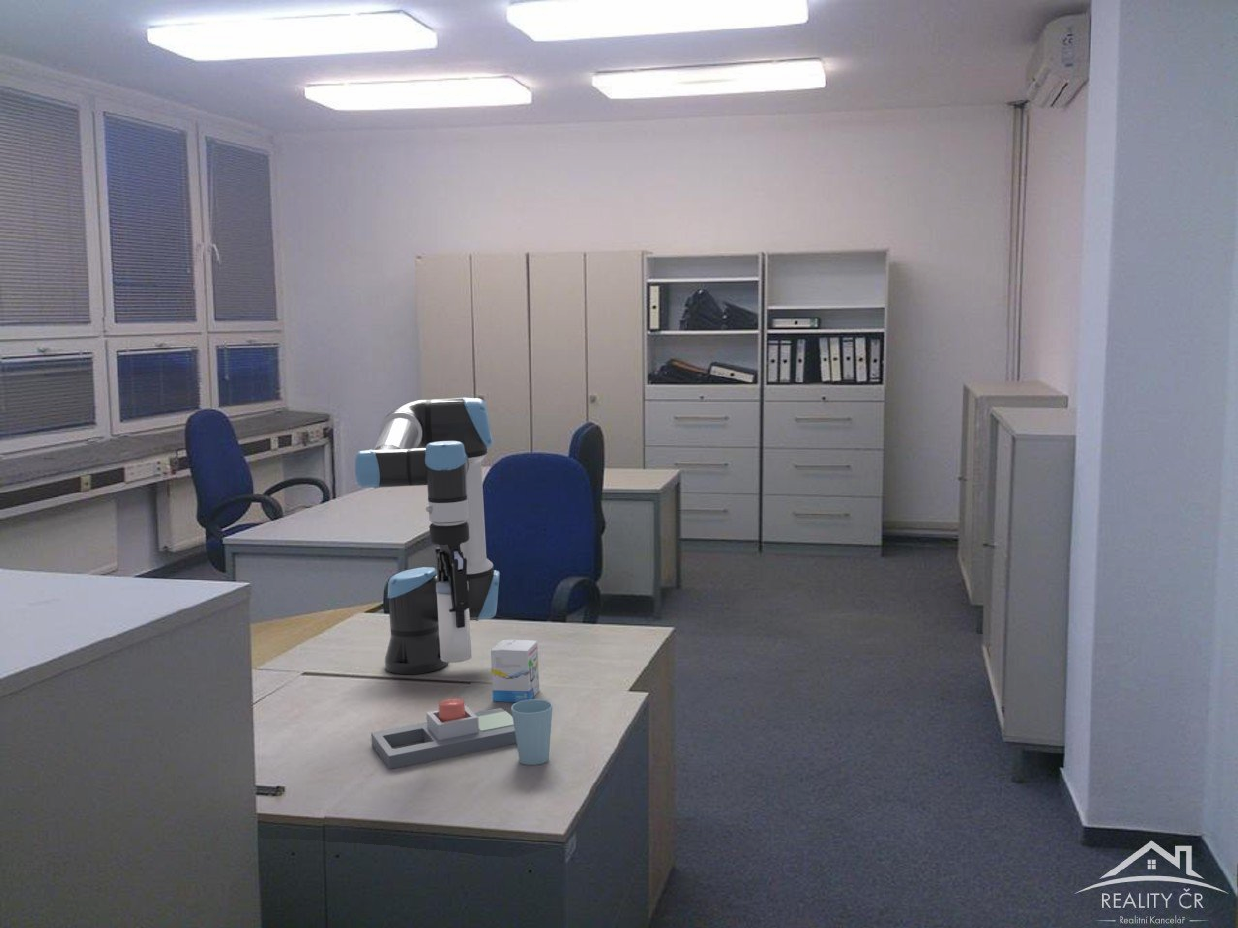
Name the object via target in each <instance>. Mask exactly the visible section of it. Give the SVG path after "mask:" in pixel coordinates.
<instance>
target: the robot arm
mask: <svg viewBox="0 0 1238 928" xmlns="http://www.w3.org/2000/svg"><path fill="white" fill-rule="evenodd" d="M492 433H493V432H492V427H491V421H490V417H489V412H488V408H487V404H486V402H485V401H484V400H483V399H482V398H479V397H478V398H477V397H455V398H454V397H452V398H437V399H436V398H435V399H434V398H433V399H419V400H413V401H410V402H408V403H404V404H402V405H400V406H398V407H396V408H394V410H392V411H390V412H389V413H388V414H387V415H386V416H385V417H384V418H383V420H382V421H381V424H380V426H379V438H378V440H377V442H376V444H375V446H374V448H373V449H370V448H369V449H367V450H360V451H358V452H357V453H356V454H355V459H354V474H355V475H354V476H355V479H356V483H357V485H358V487H360V488H366V489H367V488H368V489H369V488H370V489H371V488H373V489H379V488H397V487H415V486H416V487H417V486H419V487H420V486H426V488H427V501H428V503H427V504H428V506H425V511H426V512H427V513H428V518H429V519H428V520H429V521H430V522H431V523H430V525H429V542H430V544H433V545H436V546H439V547H436V548H435V550H434V552H435V556H436V557H435V558H436V568H435V567H432V566H430V567H427V566H424V567H417V568H412V569H407V570H403V571H401V572H398V573H396V574H394V575H392V576H391V577H390V579H389V581H388V583H387V584H388V585H387V599H388V610H389V625H390V626H389V627H390V637H389V642H388V646H387V650H386V653H385V657H384V667H385V670H386V671H388V672H390V673H392V674H397V675H417V674H418V675H420V674H425V673H431V672H435V671H438V670H441V669H442V668H445V667H446V666H448V664H449V663H448V662H443V661H441V657H440V640H439V622H438V605H437V592H436V583H437V582H440V581H449V585H450V590H451V600H452V609H449V612H451V620H452V639H453V644H460V643H467V624H466V609H469V617H470V621H475V622H478V621H482V620H490V619H491V620H492V618H494V617H495V616H496V615H497V608H498V600H499V599H498V598H499V597H498V595H499V586H500V584H499V583H500V571H499V570H496V569H495V570H494V564H493V562H492V561H491V560H489V558H487V544H486V542H487V541H486V525H485V524H486V523H485V508H484V506H485V505H484V489H483V471H482V461H483V460H484V459H485V458H486V456H487V455H488V448H490V447H492V446H493V445H494V441H493V434H492ZM467 581H468V583H467ZM468 589H469V590H468Z"/></svg>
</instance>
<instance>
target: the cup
mask: <svg viewBox="0 0 1238 928" xmlns="http://www.w3.org/2000/svg"><path fill="white" fill-rule="evenodd" d="M510 709H511V716H512V717H513V723H514V729H515V735H516V742H517V743H516V746H517V753H518V758H519V759H518V760H519V762H520V763H521V764H524V765H526V766H527V765H528V766H537V765H542V764H545V763H546V762H548V761H549V759H550V747H551V732H552V731H551V730H552V716H553V703H552V702H550V701H549V700H545V699H539V698H538V699H536V698H535V699H534V698H532V699H531V700H524V701H520V702H514V703H513V704H512V705H511V707H510Z"/></svg>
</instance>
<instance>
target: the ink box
mask: <svg viewBox="0 0 1238 928" xmlns="http://www.w3.org/2000/svg"><path fill="white" fill-rule="evenodd" d="M538 649H539V647H538V640H531V639H530V640H529V639H501V641H499V642H498V643H497V644H496V645H495V646H494V647H493V648H492V649H491V650H490V654H491V655H490V657H491V677H492V678H491V680H492V681H491V682H492V683H491V684H492V685H491V686H492V701H493V702H506V703H507V702H508V703H509V702H512V703H513V702H514V703H517V702H520V701H524V700H531V699H534V697H535V696H536V695H537V694H538V692H540V675H539V673H540V672H539V651H538Z"/></svg>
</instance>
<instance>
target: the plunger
mask: <svg viewBox="0 0 1238 928" xmlns="http://www.w3.org/2000/svg"><path fill="white" fill-rule="evenodd" d="M438 710H439V719H440V721H441V722H447V721H452V720H457V719H463V718H465V700H464V699H462V698H461V699H459V698H447V699H443V700H441V701H440V702H439V703H438Z"/></svg>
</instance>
